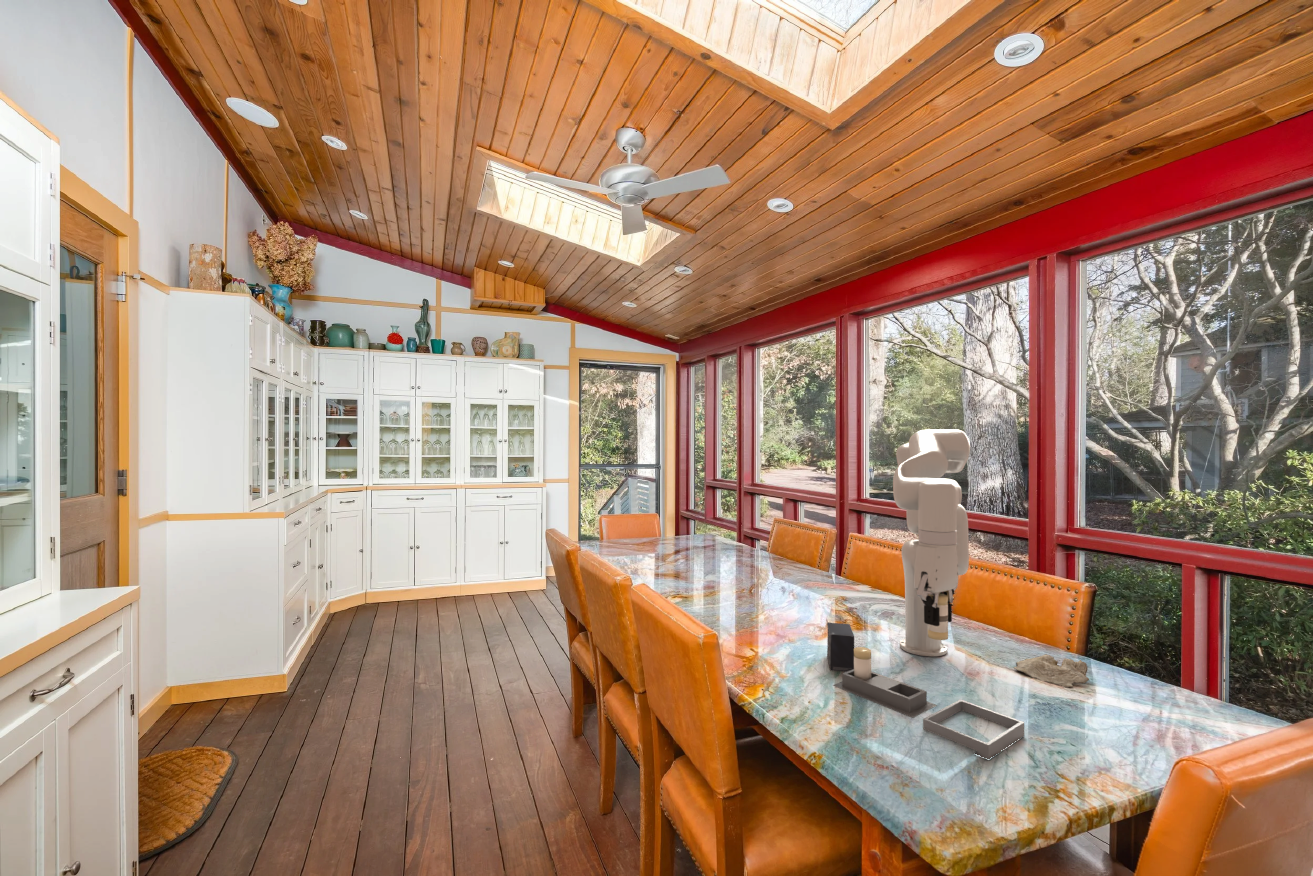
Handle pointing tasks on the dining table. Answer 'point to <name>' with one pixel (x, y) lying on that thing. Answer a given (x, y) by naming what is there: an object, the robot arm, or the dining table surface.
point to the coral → (1054, 670)
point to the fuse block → (887, 693)
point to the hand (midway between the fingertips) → (937, 621)
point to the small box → (840, 647)
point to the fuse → (862, 663)
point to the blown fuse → (942, 629)
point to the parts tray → (981, 747)
